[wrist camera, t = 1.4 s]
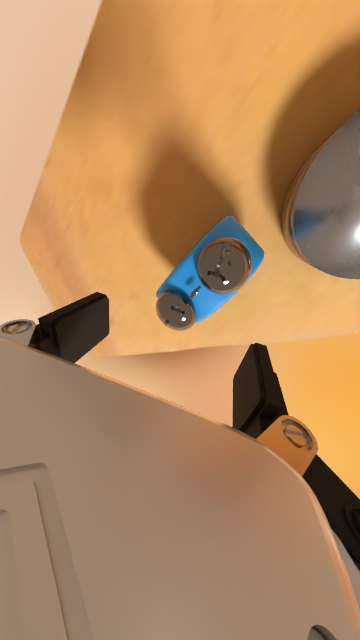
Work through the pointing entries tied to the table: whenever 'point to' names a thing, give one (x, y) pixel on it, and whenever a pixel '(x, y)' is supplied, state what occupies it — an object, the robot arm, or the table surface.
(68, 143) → the table surface
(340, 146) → the round tin
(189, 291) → the alarm clock
